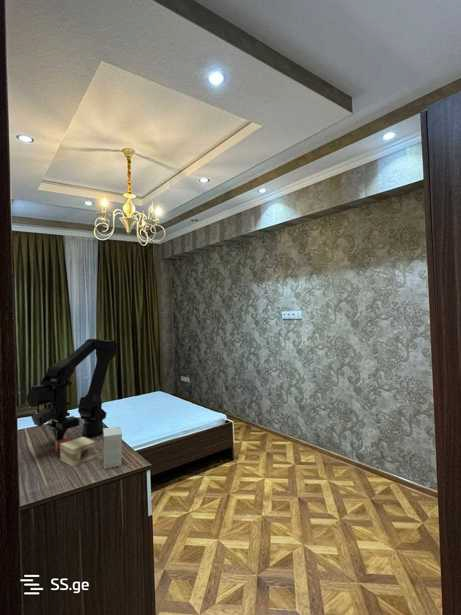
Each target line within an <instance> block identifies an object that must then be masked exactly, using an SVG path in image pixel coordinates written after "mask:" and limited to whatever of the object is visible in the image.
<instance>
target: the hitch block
mask: <svg viewBox="0 0 461 615" xmlns="http://www.w3.org/2000/svg"><path fill="white" fill-rule="evenodd" d="M96 444H97V442H96V441H95V440H92V439H91V438H89V437H87V436H80V437H76V438H74V439H70V440H69V441H68V442H64V443H61V444H60V452H59V456H60V457H59V458H60V459H59V461H61V462H63V463H65V464H66V465H69V466H71V467H75V466H78V465H81V464H83V463H85V462H88V461H90V460H93V459H95V458H97V456H96V452H97V451H96V450H97V449H96ZM81 451H83V454H82V455H80V452H81Z"/></svg>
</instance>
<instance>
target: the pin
mask: <svg viewBox="0 0 461 615" xmlns="http://www.w3.org/2000/svg"><path fill="white" fill-rule="evenodd" d="M68 441H70V439H69V436H63V438H60V439H57V440H55V441H54V445H55V446H54V450H55V453H60V444H61V443H64V442H68ZM82 454H83V451H81V452H80V455H82Z"/></svg>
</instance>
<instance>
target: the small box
mask: <svg viewBox="0 0 461 615" xmlns="http://www.w3.org/2000/svg"><path fill="white" fill-rule="evenodd" d="M102 431H103V434H102V464H103V470H108V469H112V467H113V468H117V467H116V466H119V467H121V465H123V464H122V463H123V462H122V461H123V458H122V456H123V434H122V430H121V426H119V425H118V426H112V427H104V428H103V427H102ZM107 468H108V469H107Z"/></svg>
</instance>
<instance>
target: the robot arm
mask: <svg viewBox="0 0 461 615" xmlns="http://www.w3.org/2000/svg"><path fill="white" fill-rule="evenodd" d="M118 347H119V346H118V343H117V341H116V340H104V339H98V338H88V339H86V340H85V342H83V344H81V345H80V346H79V347H78V348H77V349H75V350H74V351H73V352H72V353H71V354H69V355H68V356H66V358H64V359H62V360H59V361H56V362H55V363H53V364H52V365H50V366H49V367H48V368H47V370H46V373H45V375H44V377H43V378H42V380H41V381H40V383H39V385H32V386H31V387H30V388H31V390H29V391H28V393H27V396H26V402H27V404H28V405H29V406H30V407H32V408H34V407H35V408H36V407H39V406H42V405H45V404H46V408H44V409H41V410H39V411H38V412H36V413H34V414H33V415H31V420H32V423H33V424H34V426H37V427H42V426H44V425H45V424H46V426H47V427H50V429H51V430H52V433H53V436H54V439H55V440H57V439H60V438H64V437H65V435H66V433H67V430H68V429H71V428H75V427H79V426H80V419H81V420H83V422H84V424H82V425H83V426H82V427H83V428H82V430H83V431H82V433H81V435H82V436H84V437H86V438H89V439H91V438H94V437H97V436H100V435H103V421H104V420H105V419H106V417H107V412H106V411H105V410H104V409H103V408H102V406H103V401H102V397H101V394H102V391H103V388H104V383H105V379H106V376H107V373H108V372H107V371H108V368H109V365H110V361H112V359H113V358H114V357H115V356H116V353H117V352H118ZM93 352H95V355H96V364H95V367H94V370H93V374H92V377H91V381H90V383H89V384H90V385H89V388H88V391H87V393H86V394H85V396H80V399H79V403H78V406H77V408H78V409H77V412H78V414H79V415H80V418H78V417H76V416H73V415H71V413H70V412H68V406H70V405H71V402H70V401H69V400H68V398H69V397H68V395H69V394H68V388H69V386H73V385H74V384H73V382H72V381H70V378H71V377H72V375H73V374H74V373H75V369H76V367H77V366H79V364H81V363H82V362H83V361H84V360H85V359H86V358H87V357H88V356H90V355H91V354H92V353H93Z"/></svg>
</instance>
